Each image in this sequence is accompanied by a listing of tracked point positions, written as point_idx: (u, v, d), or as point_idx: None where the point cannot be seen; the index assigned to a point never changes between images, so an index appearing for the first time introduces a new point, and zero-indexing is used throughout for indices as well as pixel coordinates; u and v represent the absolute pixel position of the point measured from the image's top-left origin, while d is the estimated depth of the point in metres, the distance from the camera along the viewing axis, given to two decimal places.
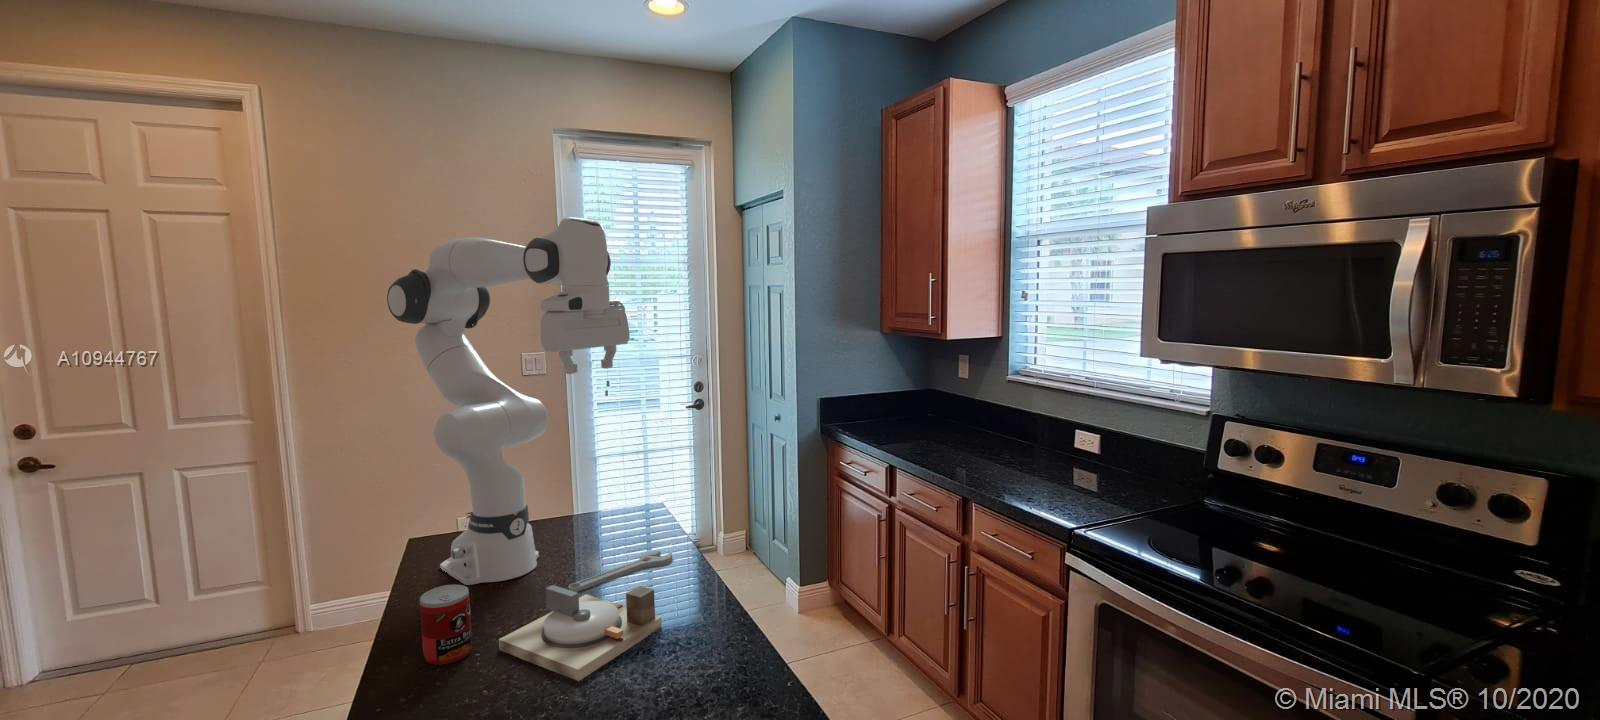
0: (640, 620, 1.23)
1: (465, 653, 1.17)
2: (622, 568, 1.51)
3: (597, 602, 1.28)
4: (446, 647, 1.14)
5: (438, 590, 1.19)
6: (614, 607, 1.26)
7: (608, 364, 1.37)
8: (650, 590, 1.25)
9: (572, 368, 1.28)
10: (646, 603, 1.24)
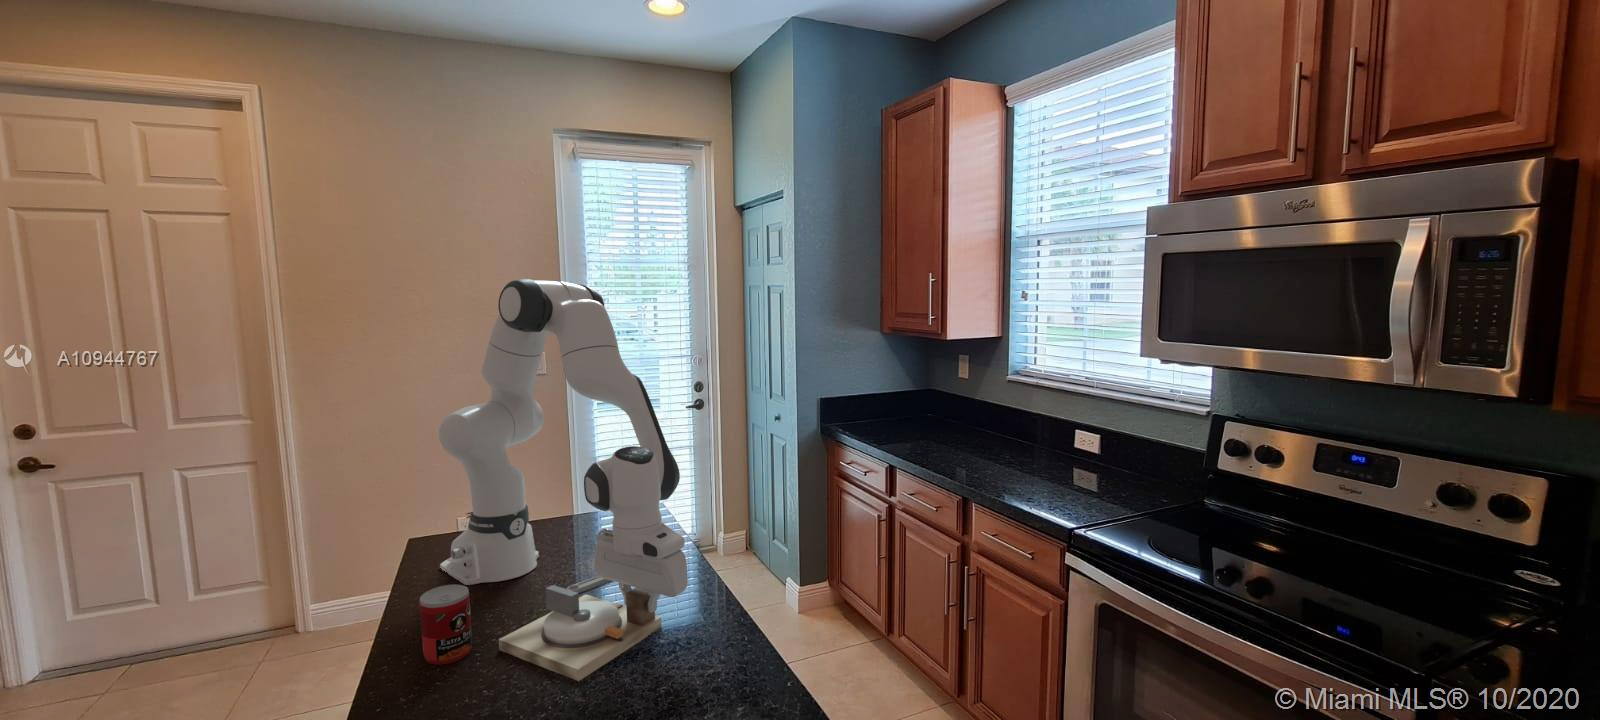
0: (640, 620, 1.23)
1: (465, 653, 1.17)
2: None
3: (597, 602, 1.28)
4: (446, 647, 1.14)
5: (438, 590, 1.19)
6: (614, 607, 1.26)
7: None
8: None
9: None
10: None
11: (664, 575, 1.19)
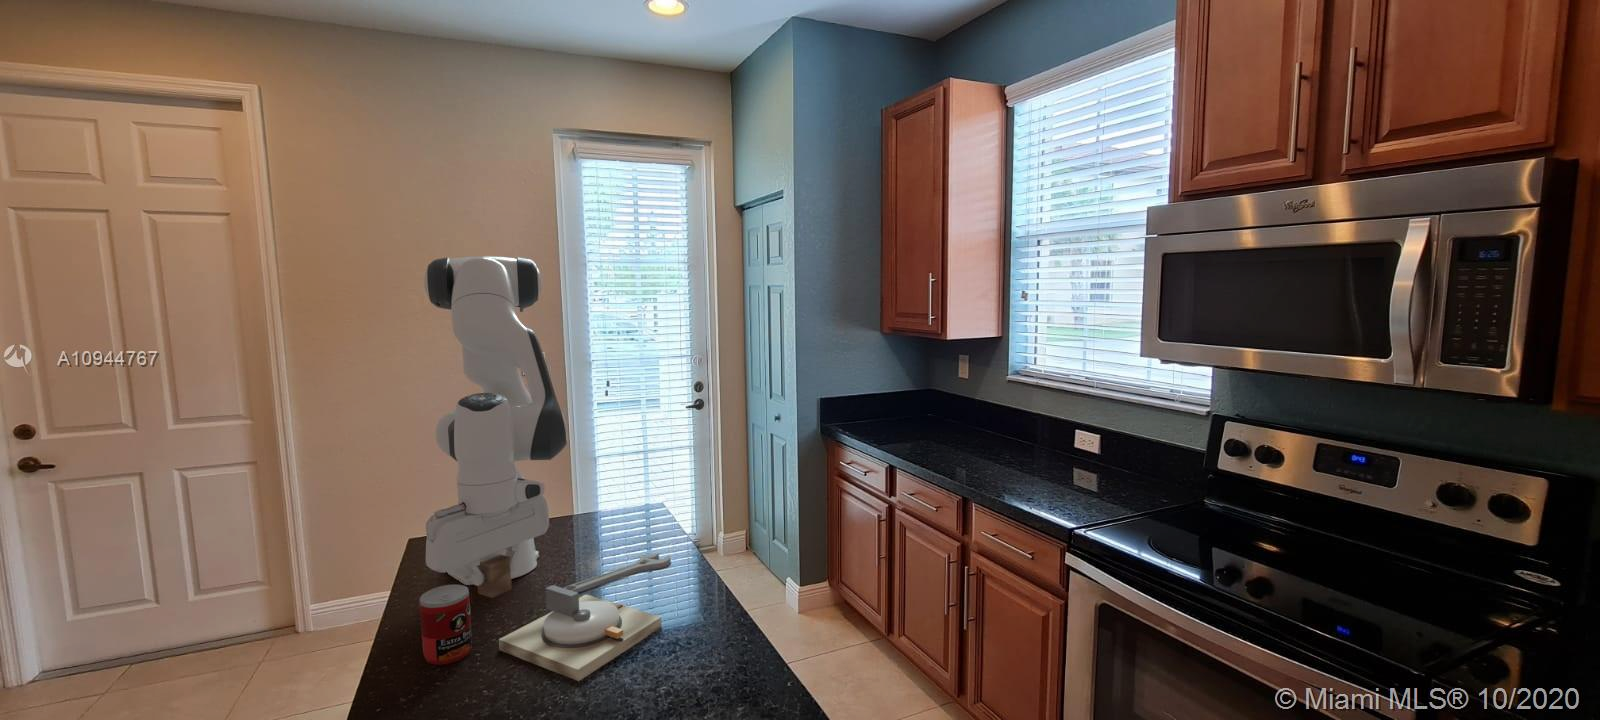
0: (510, 583, 1.10)
1: (465, 653, 1.17)
2: (619, 570, 1.50)
3: (597, 602, 1.28)
4: (446, 647, 1.14)
5: (438, 590, 1.19)
6: (614, 607, 1.26)
7: None
8: (495, 554, 1.11)
9: None
10: None
11: (538, 513, 1.14)
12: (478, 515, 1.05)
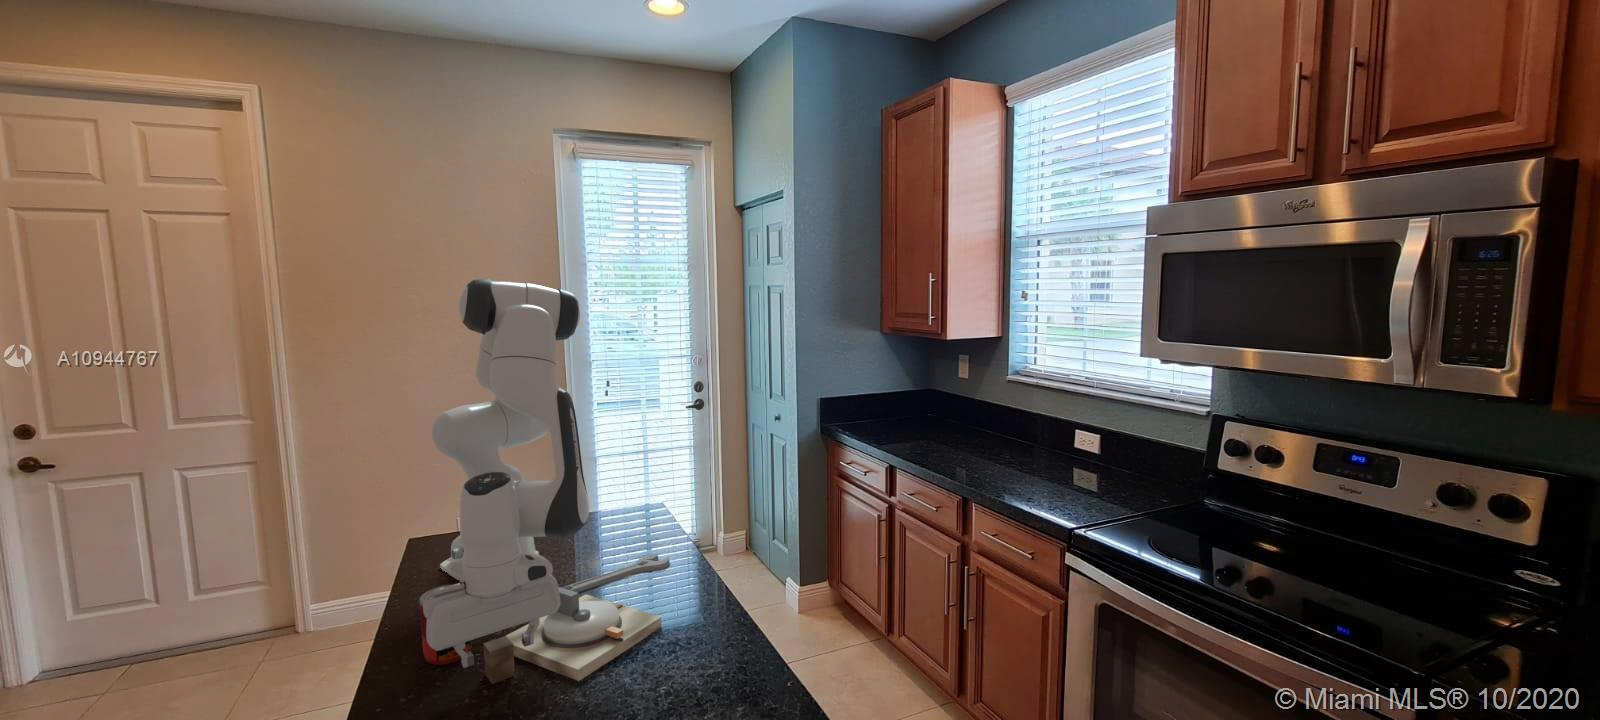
0: (513, 670, 1.11)
1: None
2: (617, 571, 1.49)
3: (597, 602, 1.28)
4: None
5: None
6: (614, 607, 1.26)
7: None
8: (504, 637, 1.13)
9: None
10: None
11: (547, 593, 1.14)
12: (476, 595, 1.06)
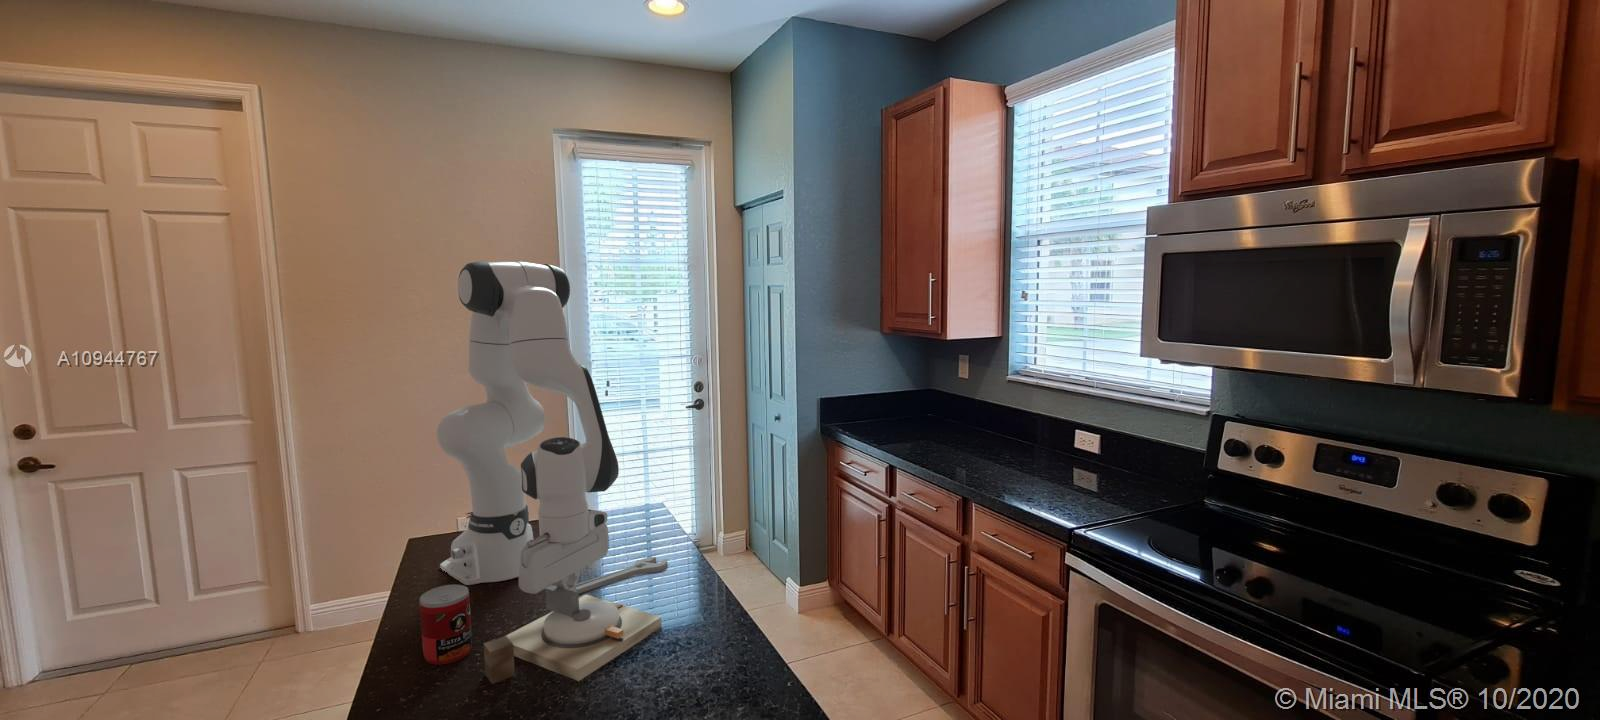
0: (513, 670, 1.11)
1: (465, 653, 1.17)
2: (614, 574, 1.48)
3: (597, 602, 1.28)
4: (446, 647, 1.14)
5: (438, 590, 1.19)
6: (614, 607, 1.26)
7: None
8: (504, 637, 1.13)
9: None
10: None
11: (601, 539, 1.33)
12: (559, 543, 1.23)
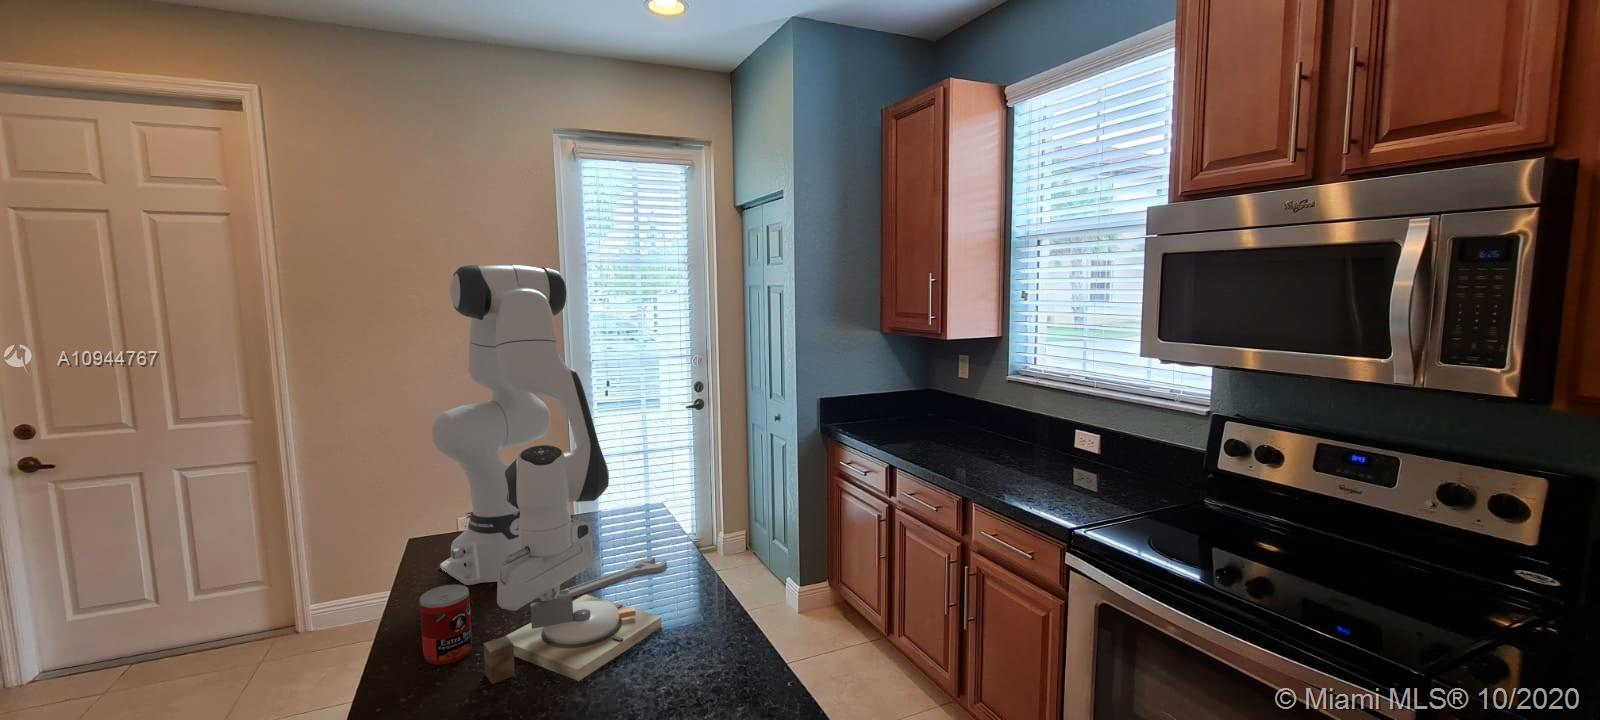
0: (513, 670, 1.11)
1: (465, 653, 1.17)
2: (614, 575, 1.48)
3: None
4: (446, 647, 1.14)
5: (438, 590, 1.19)
6: (592, 601, 1.28)
7: None
8: (504, 637, 1.13)
9: None
10: None
11: (585, 550, 1.27)
12: (540, 557, 1.17)
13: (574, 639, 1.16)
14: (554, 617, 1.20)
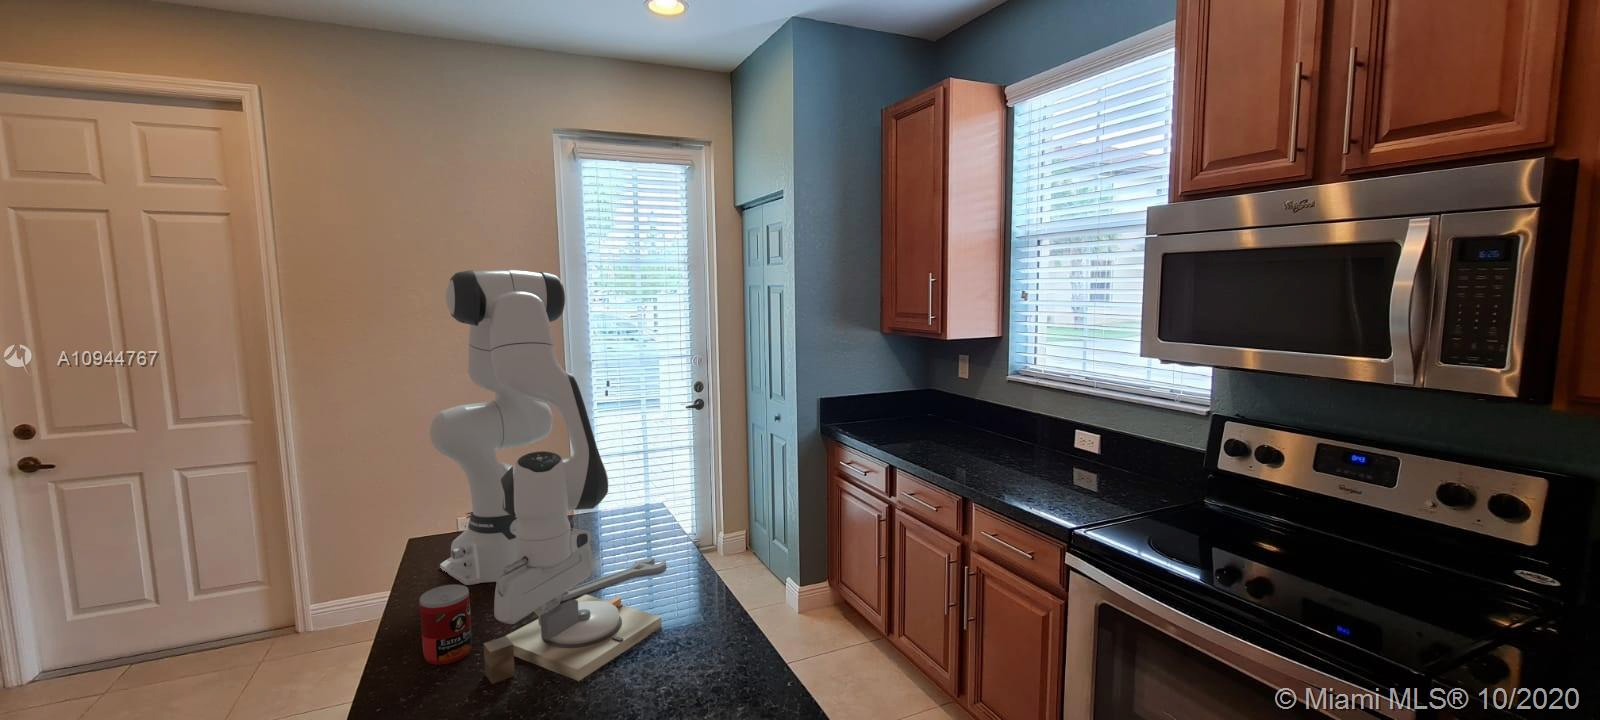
0: (513, 670, 1.11)
1: (465, 653, 1.17)
2: (613, 576, 1.47)
3: None
4: (446, 647, 1.14)
5: (438, 590, 1.19)
6: None
7: None
8: (504, 637, 1.13)
9: None
10: None
11: (584, 559, 1.23)
12: (539, 567, 1.13)
13: (600, 633, 1.18)
14: (565, 622, 1.18)
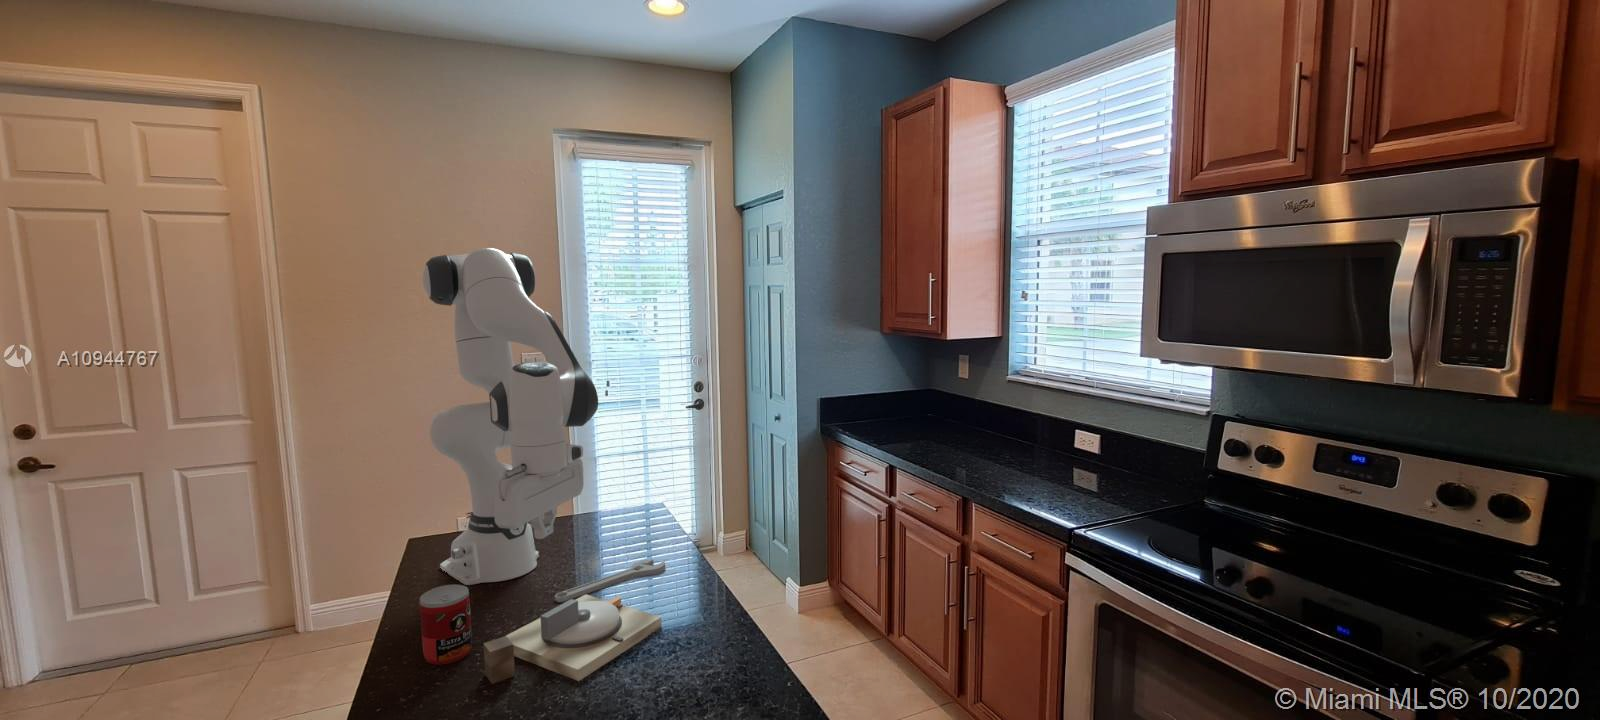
0: (513, 670, 1.11)
1: (465, 653, 1.17)
2: (612, 577, 1.47)
3: None
4: (446, 647, 1.14)
5: (438, 590, 1.19)
6: None
7: None
8: (504, 637, 1.13)
9: None
10: None
11: (576, 475, 1.22)
12: (537, 475, 1.11)
13: (600, 633, 1.18)
14: (565, 622, 1.18)
